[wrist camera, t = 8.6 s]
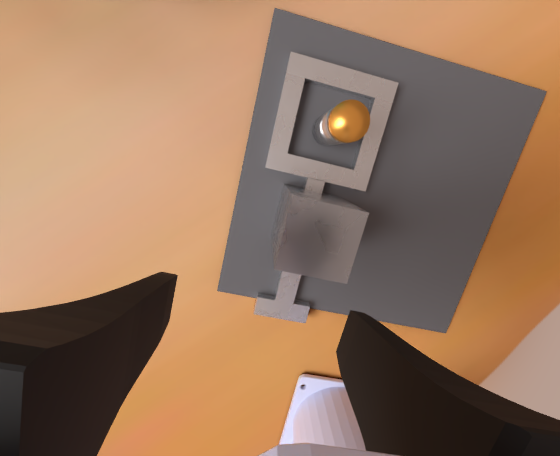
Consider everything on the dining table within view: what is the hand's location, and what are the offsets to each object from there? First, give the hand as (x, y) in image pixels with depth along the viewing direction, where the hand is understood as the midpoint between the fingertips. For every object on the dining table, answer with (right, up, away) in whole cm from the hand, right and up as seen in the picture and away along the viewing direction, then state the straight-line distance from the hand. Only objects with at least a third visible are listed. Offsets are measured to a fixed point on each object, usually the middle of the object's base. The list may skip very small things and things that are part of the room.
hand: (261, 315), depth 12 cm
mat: (+7, +6, +9) cm, 13 cm away
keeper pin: (+4, +10, +8) cm, 13 cm away
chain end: (+2, +4, +9) cm, 10 cm away
